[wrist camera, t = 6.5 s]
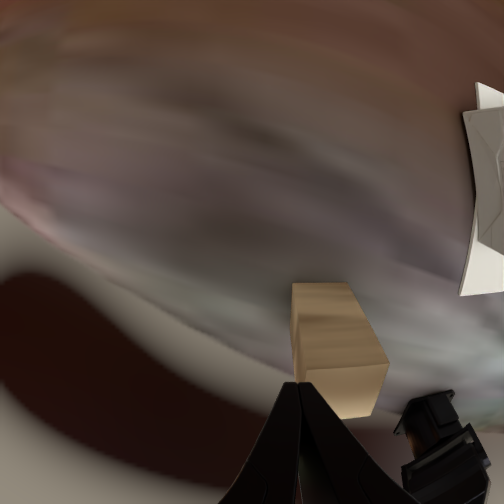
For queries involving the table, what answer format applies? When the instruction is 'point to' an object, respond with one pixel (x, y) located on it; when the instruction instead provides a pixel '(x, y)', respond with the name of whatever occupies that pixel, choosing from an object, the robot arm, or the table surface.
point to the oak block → (336, 347)
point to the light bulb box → (488, 172)
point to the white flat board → (479, 256)
